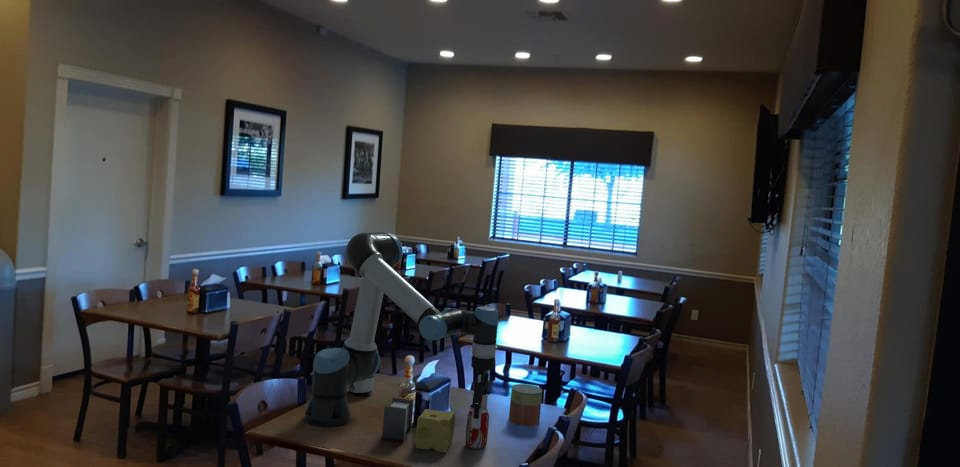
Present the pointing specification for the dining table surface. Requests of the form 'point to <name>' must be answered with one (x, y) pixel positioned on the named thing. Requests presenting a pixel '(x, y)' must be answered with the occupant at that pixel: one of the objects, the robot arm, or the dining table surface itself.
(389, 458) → the dining table surface
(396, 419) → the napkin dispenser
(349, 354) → the robot arm
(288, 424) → the dining table surface
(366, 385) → the spread jar
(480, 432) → the soda can
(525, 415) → the canned food
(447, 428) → the cheese
